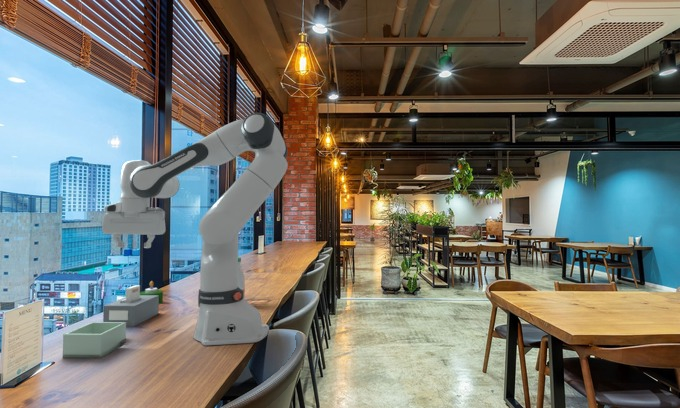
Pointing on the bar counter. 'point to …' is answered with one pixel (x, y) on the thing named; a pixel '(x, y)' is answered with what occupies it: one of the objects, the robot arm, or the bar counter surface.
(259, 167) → the robot arm
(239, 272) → the milk bottle
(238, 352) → the bar counter surface
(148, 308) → the block
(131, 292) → the pale bar
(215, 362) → the bar counter surface
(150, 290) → the candle
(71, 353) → the stub box
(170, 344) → the bar counter surface
